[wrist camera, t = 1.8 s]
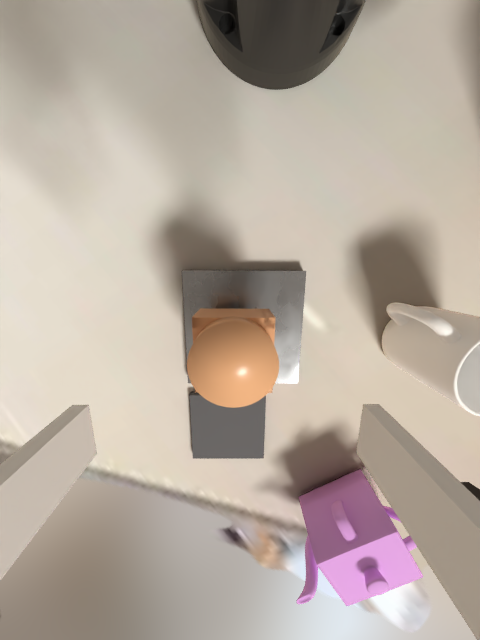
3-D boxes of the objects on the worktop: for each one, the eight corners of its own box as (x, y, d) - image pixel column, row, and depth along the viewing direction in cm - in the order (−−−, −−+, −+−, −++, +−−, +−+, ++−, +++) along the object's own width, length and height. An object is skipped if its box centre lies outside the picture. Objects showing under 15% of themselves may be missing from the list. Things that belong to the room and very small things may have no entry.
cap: (199, 307, 22) (184, 322, 16) (270, 307, 22) (281, 322, 16) (201, 372, 23) (189, 407, 18) (267, 372, 23) (277, 407, 18)
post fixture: (184, 270, 26) (155, 271, 17) (303, 270, 26) (336, 272, 17) (190, 378, 29) (168, 427, 20) (295, 378, 29) (320, 427, 20)
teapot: (300, 546, 37) (323, 649, 27) (259, 489, 34) (268, 580, 24) (403, 502, 35) (469, 596, 25) (368, 438, 32) (427, 515, 22)
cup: (408, 378, 29) (493, 434, 20) (345, 323, 28) (404, 355, 18) (458, 332, 28) (577, 367, 18) (394, 271, 26) (489, 273, 16)
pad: (190, 392, 30) (189, 395, 29) (265, 392, 30) (265, 395, 29) (194, 453, 32) (192, 458, 31) (262, 453, 32) (263, 458, 31)
